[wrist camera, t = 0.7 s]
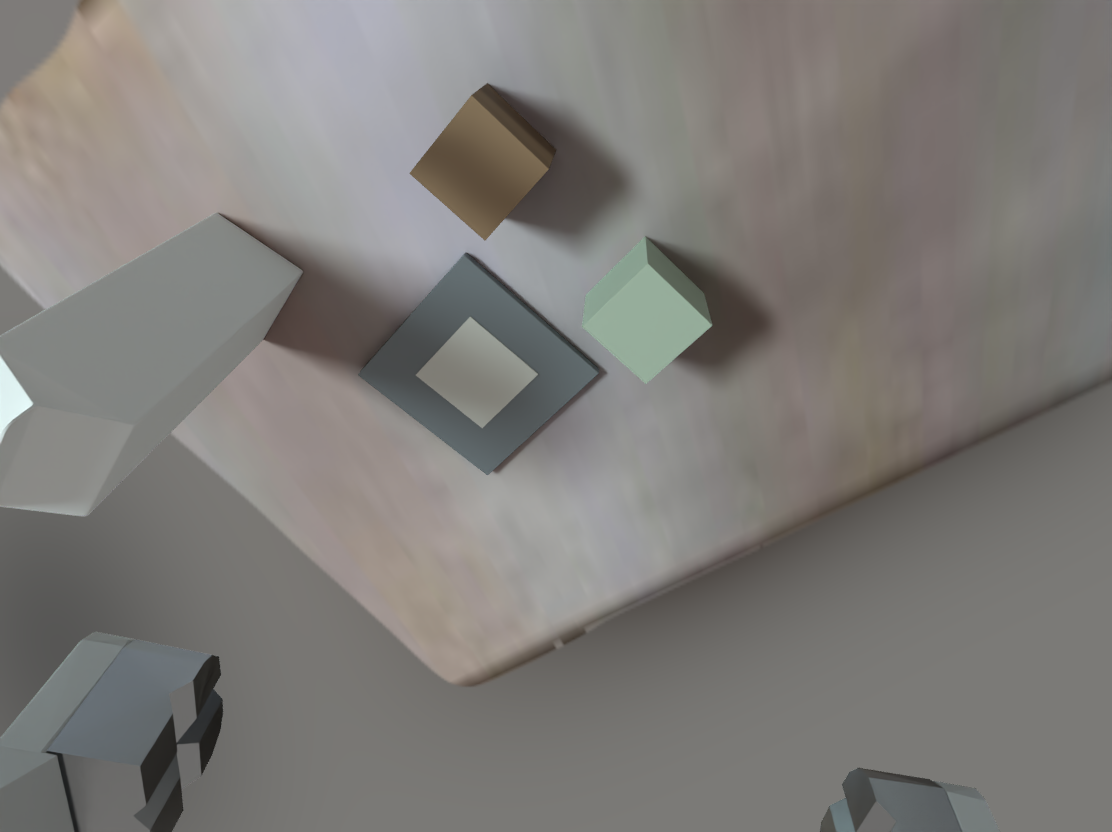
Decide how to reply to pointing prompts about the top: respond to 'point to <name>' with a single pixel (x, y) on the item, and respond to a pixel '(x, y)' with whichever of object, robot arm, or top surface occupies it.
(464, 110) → the walnut block
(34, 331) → the milk
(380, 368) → the coaster
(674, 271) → the green block
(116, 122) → the top surface
